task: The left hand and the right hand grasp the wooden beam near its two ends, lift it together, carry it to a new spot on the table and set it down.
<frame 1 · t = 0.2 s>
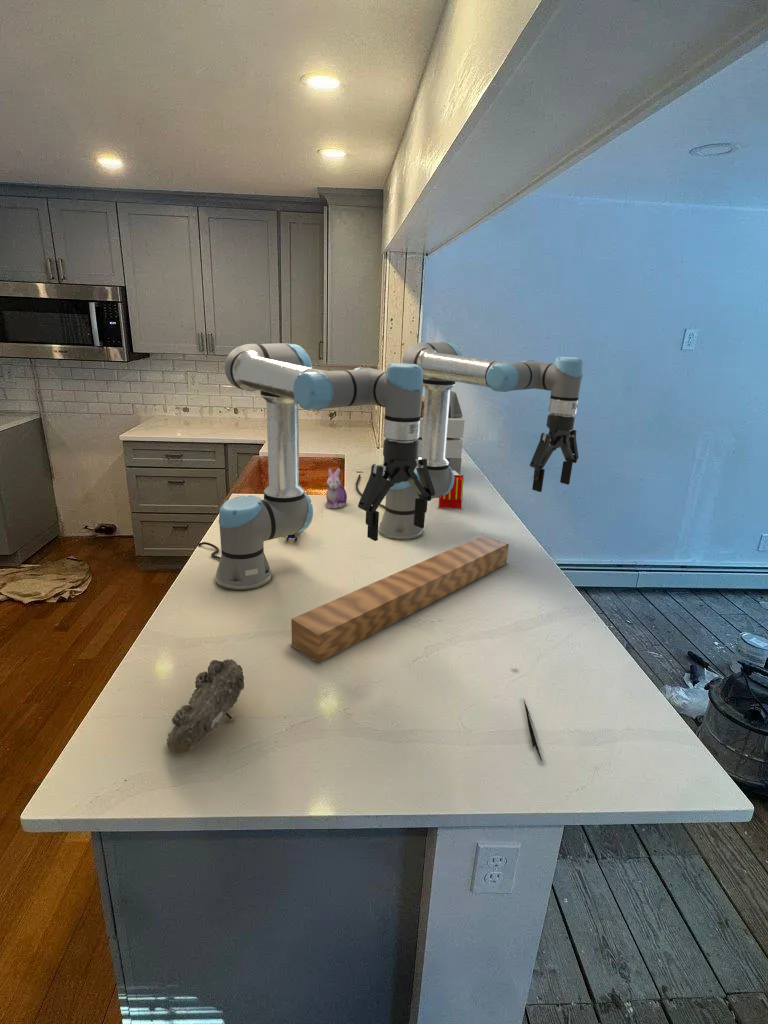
left hand: (396, 532, 127), 28 cm above the counter, tool pointing down, fingers open, 13 cm apart
right hand: (551, 487, 166), 28 cm above the counter, tool pointing down, fingers open, 13 cm apart
grey wooden crate: (419, 473, 275), on the counter
feather: (526, 712, 113), on the counter
figurine: (336, 505, 225), on the counter
wooden beam: (415, 598, 156), on the counter
figurine character: (293, 536, 193), on the counter
fossil: (212, 717, 108), on the counter
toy: (445, 498, 240), on the counter
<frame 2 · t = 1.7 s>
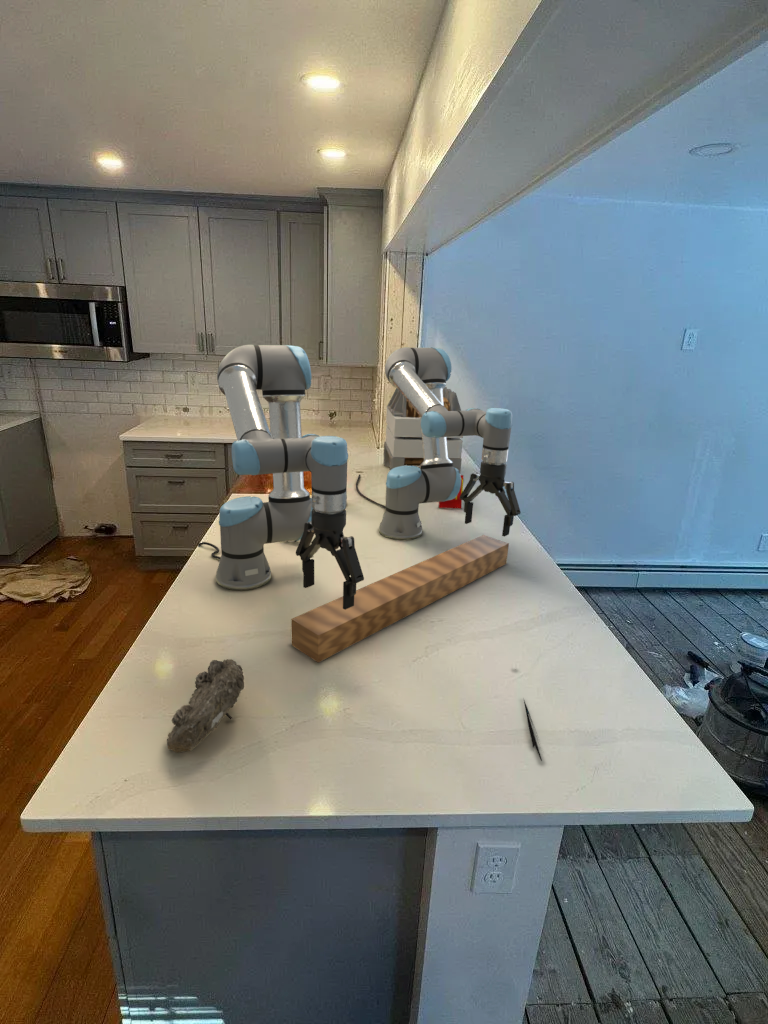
left hand: (327, 596, 130), 12 cm above the counter, tool pointing down, fingers open, 13 cm apart
right hand: (486, 528, 174), 12 cm above the counter, tool pointing down, fingers open, 13 cm apart
nothing on the counter moved.
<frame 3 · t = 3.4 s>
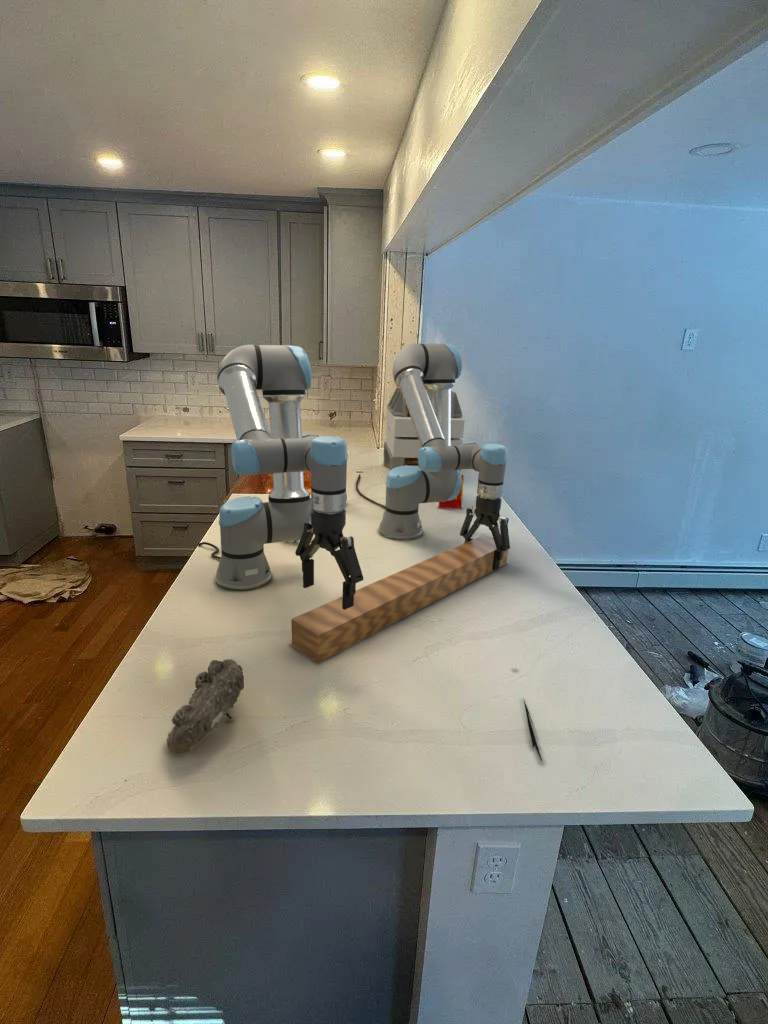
left hand: (327, 596, 130), 12 cm above the counter, tool pointing down, fingers open, 13 cm apart
right hand: (481, 563, 178), 1 cm above the counter, tool pointing down, fingers closed on wooden beam, 10 cm apart
wooden beam: (415, 598, 156), on the counter, touching right hand
everything else where it was.
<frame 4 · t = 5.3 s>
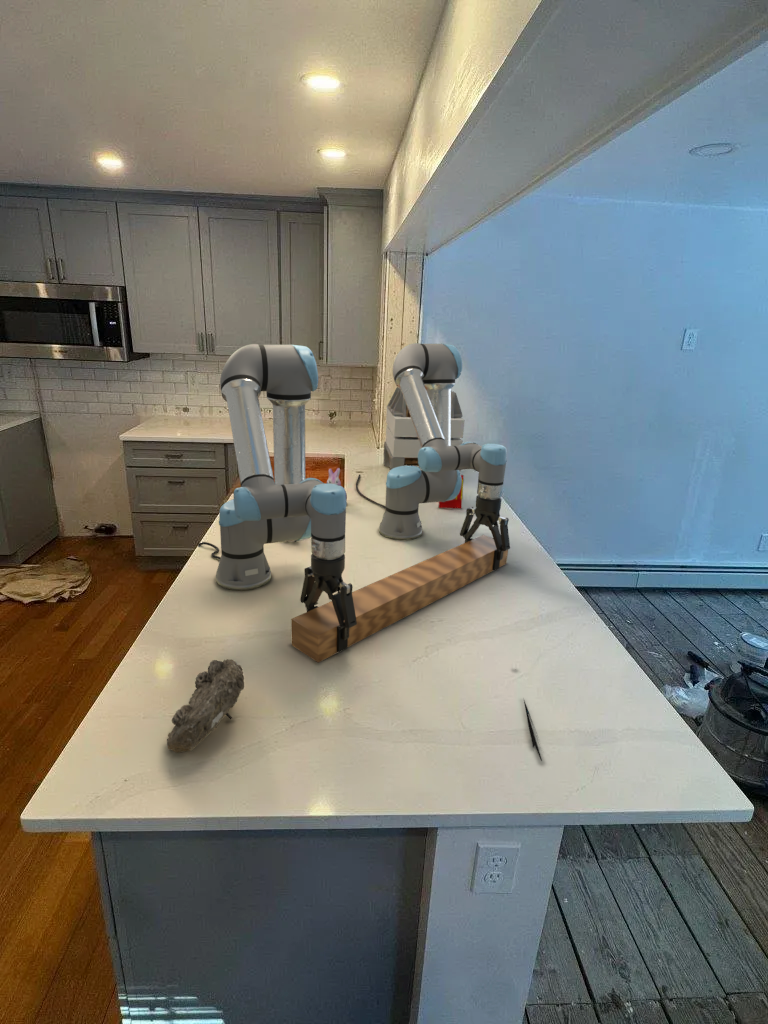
left hand: (327, 640, 133), 1 cm above the counter, tool pointing down, fingers closed on wooden beam, 10 cm apart
right hand: (481, 563, 178), 1 cm above the counter, tool pointing down, fingers closed on wooden beam, 10 cm apart
wooden beam: (415, 598, 156), on the counter, touching right hand, left hand
everything else where it was.
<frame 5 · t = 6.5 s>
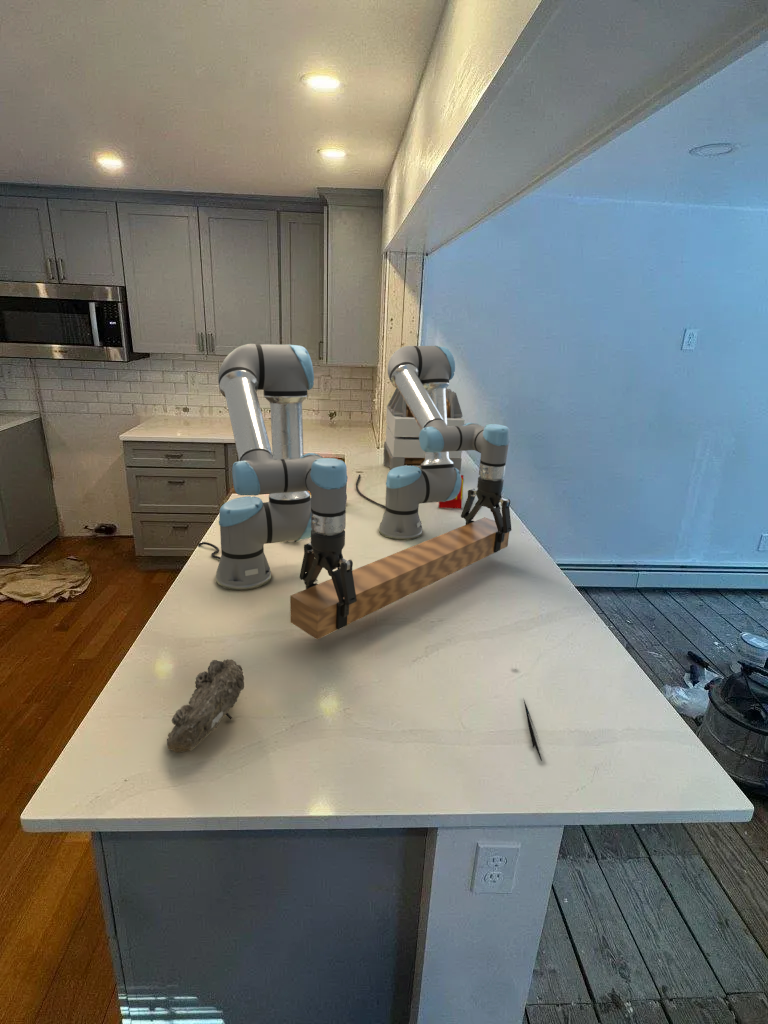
left hand: (326, 617, 132), 6 cm above the counter, tool pointing down, fingers closed on wooden beam, 10 cm apart
right hand: (482, 545, 177), 6 cm above the counter, tool pointing down, fingers closed on wooden beam, 10 cm apart
wooden beam: (415, 578, 154), point 6 cm above the counter, touching right hand, left hand
everything else where it was.
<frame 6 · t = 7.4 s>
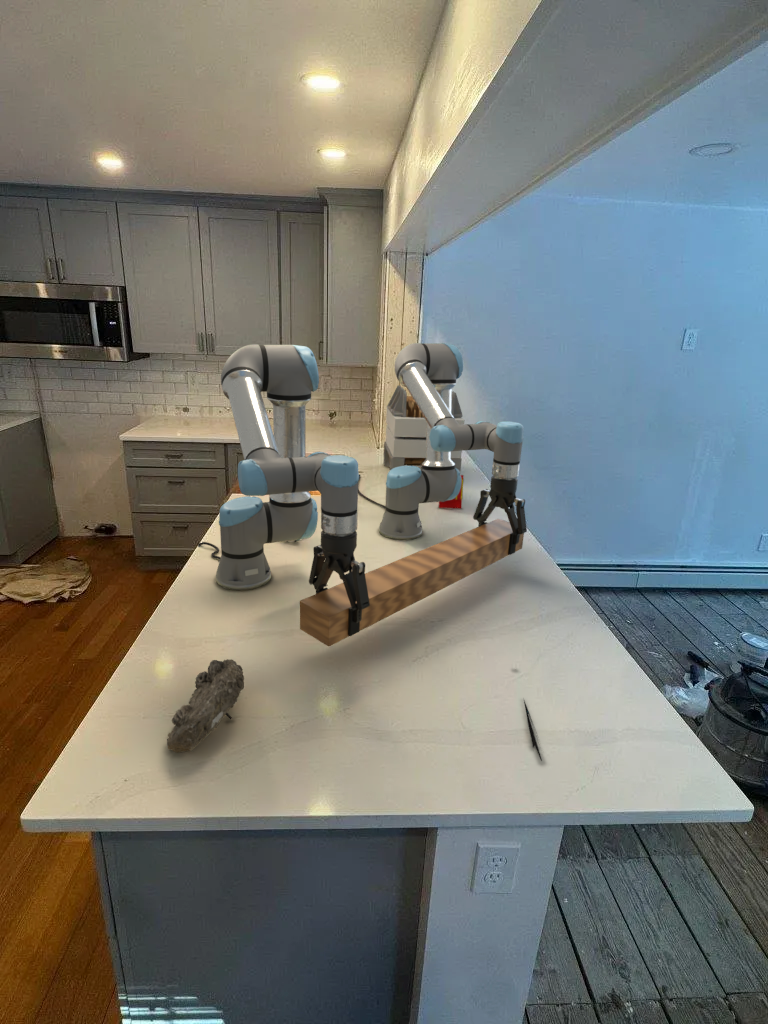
left hand: (337, 624, 126), 8 cm above the counter, tool pointing down, fingers closed on wooden beam, 10 cm apart
right hand: (496, 548, 170), 8 cm above the counter, tool pointing down, fingers closed on wooden beam, 10 cm apart
wooden beam: (428, 582, 148), point 8 cm above the counter, touching right hand, left hand
everything else where it was.
when the left hand's fingers open (2 cm above the counter, at t = 9.7 s): wooden beam drops 1 cm, on the counter.
when the right hand's fingers open (2 cm above the counter, at t = 9.7 s): wooden beam drops 1 cm, on the counter.
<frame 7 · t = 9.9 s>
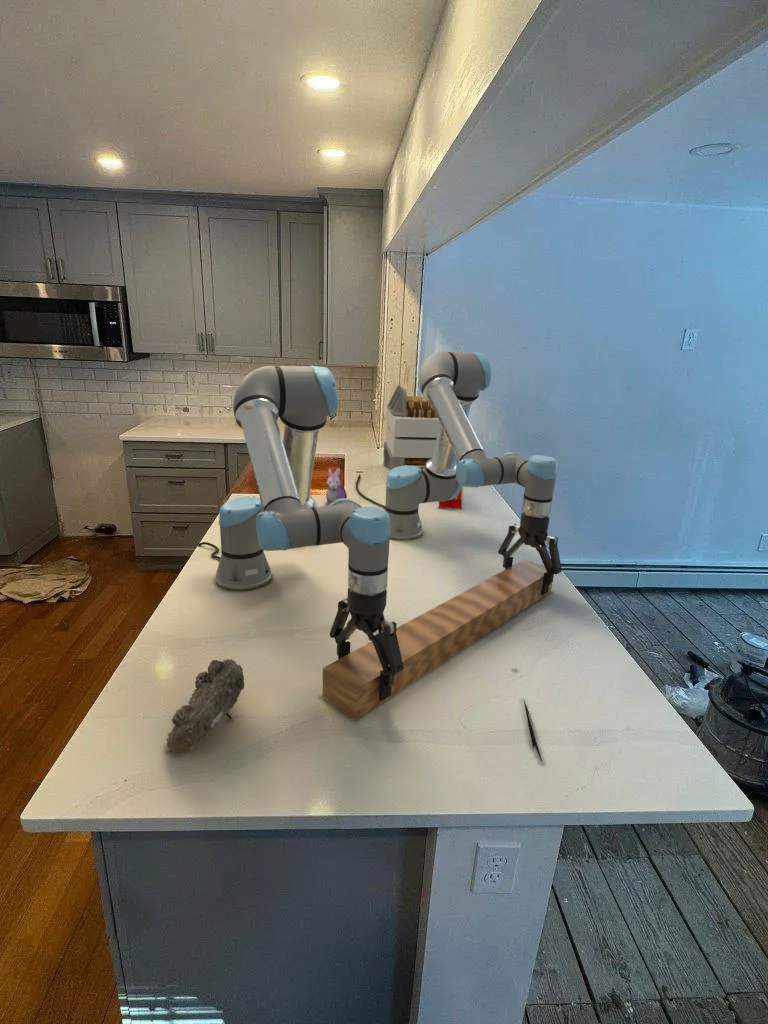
left hand: (363, 683, 116), 3 cm above the counter, tool pointing down, fingers open, 11 cm apart
right hand: (525, 586, 160), 3 cm above the counter, tool pointing down, fingers open, 11 cm apart
wooden beam: (456, 635, 139), on the counter
everything else where it was.
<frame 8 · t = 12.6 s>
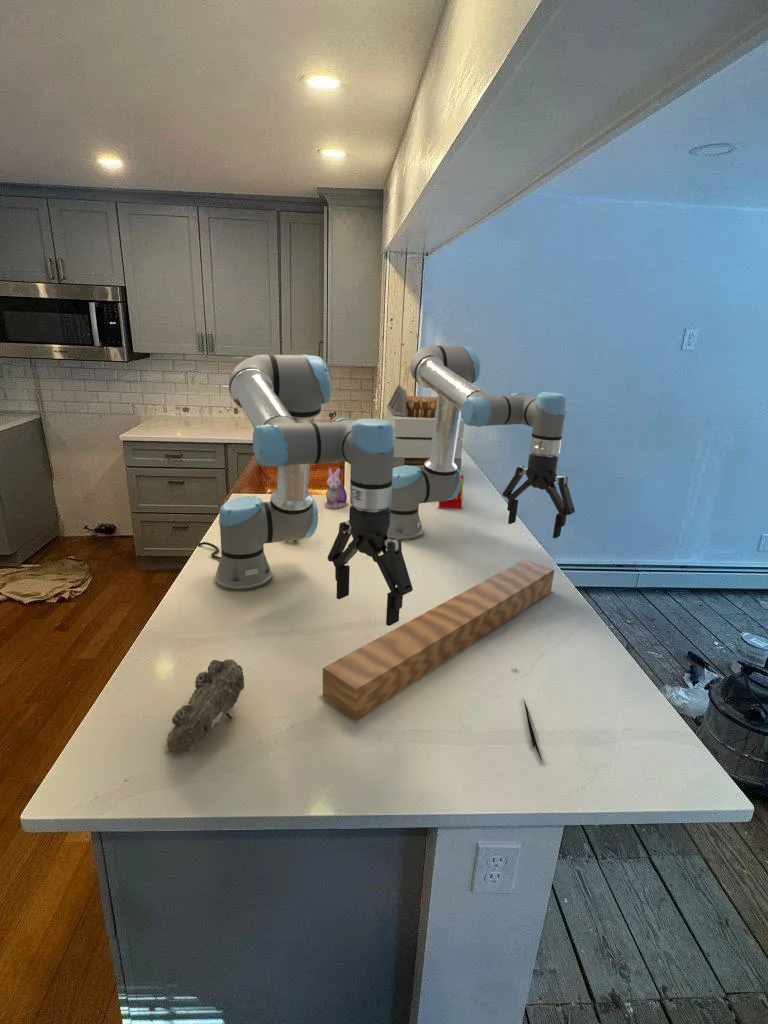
left hand: (366, 609, 110), 20 cm above the counter, tool pointing down, fingers open, 13 cm apart
right hand: (533, 529, 154), 20 cm above the counter, tool pointing down, fingers open, 13 cm apart
nothing on the counter moved.
at the end: wooden beam inside the target area (0.4 cm from its centre), on the counter; wooden beam tilted 0°; wooden beam never tilted more than 2° during the clip; both hands held the wooden beam at the same time; the left hand is holding nothing; the right hand is holding nothing; wooden beam at rest at the end (0.0 cm/s) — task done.
